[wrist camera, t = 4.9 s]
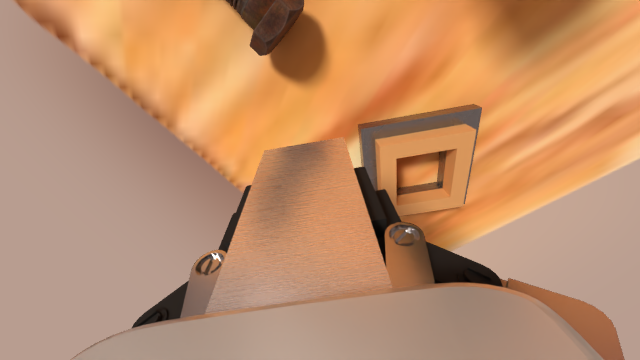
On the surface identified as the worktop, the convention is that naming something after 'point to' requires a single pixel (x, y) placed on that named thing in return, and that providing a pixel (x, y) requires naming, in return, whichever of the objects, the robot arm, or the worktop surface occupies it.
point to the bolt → (268, 20)
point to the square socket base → (421, 138)
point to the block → (301, 233)
